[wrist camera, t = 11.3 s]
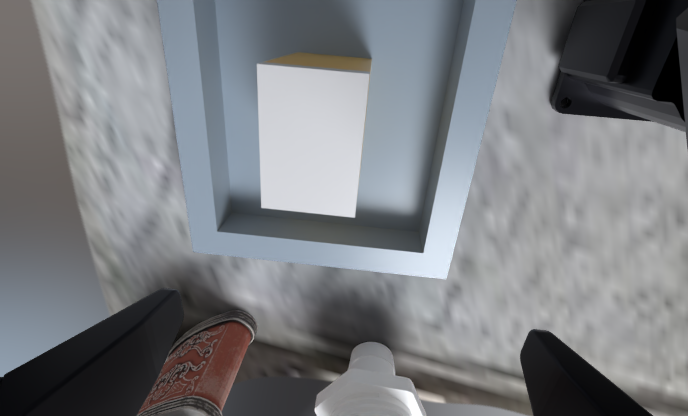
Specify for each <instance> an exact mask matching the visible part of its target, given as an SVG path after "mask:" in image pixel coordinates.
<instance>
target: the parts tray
mask: <svg viewBox="0 0 688 416" xmlns="http://www.w3.org/2000/svg"><path fill="white" fill-rule="evenodd" d="M516 1H517V0H157V4H158V11H159V18H160V25H161V32H162V39H163V46H164V53H165V60H166V67H167V74H168V81H169V88H170V95H171V102H172V109H173V116H174V123H175V130H176V137H177V144H178V151H179V158H180V165H181V172H182V179H183V186H184V193H185V200H186V207H187V213H188V220H189V227H190V234H191V241H192V248H193V252H197V253H207V254H216V255H225V256H235V257H244V258H253V259H263V260H272V261H281V262H290V263H300V264H309V265H318V266H328V267H337V268H346V269H355V270H365V271H374V272H383V273H393V274H402V275H411V276H421V277H430V278H439V279H447V275H448V271H449V267H450V263H451V259H452V255H453V251H454V247H455V243H456V239H457V235H458V231H459V228H460V224H461V220H462V216H463V212H464V208H465V204H466V200H467V196H468V192H469V188H470V184H471V180H472V176H473V172H474V168H475V164H476V160H477V156H478V152H479V148H480V144H481V140H482V136H483V132H484V128H485V124H486V120H487V116H488V112H489V109H490V105H491V101H492V97H493V93H494V89H495V85H496V81H497V77H498V73H499V69H500V65H501V61H502V57H503V53H504V49H505V45H506V41H507V37H508V33H509V29H510V25H511V21H512V17H513V13H514V9H515V5H516ZM297 52H302V53H313V54H324V55H335V56H346V57H358V58H369V59H372V63H371V73H370V82H369V92H368V101H367V111H366V121H365V130H364V140H363V150H362V159H361V168H360V177H359V186H358V195H357V203H356V212H355V218H353V217H343V216H334V215H324V214H315V213H305V212H296V211H287V210H277V209H268V208H261V182H260V150H259V119H258V87H257V64H258V63H261V62H265V61H269V60H272V59H276V58H279V57H283V56H286V55H290V54H293V53H297Z"/></svg>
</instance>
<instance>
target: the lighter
mask: <svg viewBox="0 0 688 416" xmlns="http://www.w3.org/2000/svg"><path fill="white" fill-rule="evenodd" d="M257 328H258V326H257V323H256V321H255V320H254V318H253V317H252V316H250V315H249V314H248V313H246V312H243V311H239V310H232V311H229V312H226V313H223V314H220V315H217V316H214V317H212V318H210V319H208V320H205V321H203V322H201V323H199V324H197V325H196V326H195V327H193V328H192V329H190V330H189V331H188V332H186V333H185V334H184V335H183V336H182V337H181V338H180V339H179V340H178V341H177V342H176V343H175V344H174V345H173V347H172V348H171V350H170V352H169V354H168V360H167V361H166V363H165V364H164V366H163V368H162V370H161V372H160V374H159V376H158V378H157V380H156V382H155V384H154V386H153V388H152V390H151V391H150V393H149V395H148V397H147V398H146V400H145V402H144V404H143V406H142V407H141V409H140V411H139V413H138V414H137V416H222V413H221V411H222V409H223V406H224V404H225V401H226V399H227V396H228V394H229V392H230V389H231V387H232V384H233V382H234V379H235V377H236V374H237V372H238V369H239V367H240V365H241V362H242V360H243V357H244V355H245V352H246V350H247V347H248V345H249V344H250V343H251V342H252V341H253V340H254V337H255V335H256V332H257Z"/></svg>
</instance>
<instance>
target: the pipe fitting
mask: <svg viewBox="0 0 688 416" xmlns="http://www.w3.org/2000/svg"><path fill="white" fill-rule="evenodd" d="M315 413H316V414H317V416H426V412H425V410H424V408H423V406H422V403H421V401H420V399H419V396H418V394H417V392H416V389H415V387H414V385H413V383H412V381H411V380H410V379H409V378H406V377H400V376H395V366H394V361H393V355H392V353H391V351H390V350H389V348H387V347H386V346H385V345H383V344H381V343H377V342H365V343H361V344H359V345H357V346H356V347H355V348H354V349H353V351H352V353H351V358H350V363H349V368H348V371H347V372H345V373H344V374H343V375H342V376H340V377H339V378H338V379H336V380H335V381H334V382H333V383H331V384H330V385H329V386H328V387H326V388H325V389H324V390H322V391H321V392H320V393H319V394H318V395H317V398H316V405H315Z"/></svg>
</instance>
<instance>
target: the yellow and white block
mask: <svg viewBox="0 0 688 416" xmlns="http://www.w3.org/2000/svg"><path fill="white" fill-rule="evenodd" d="M371 63H372V59H369V58H358V57H346V56H335V55H324V54H313V53H302V52H297V53H293V54H290V55H286V56H283V57H279V58H276V59H272V60H269V61H265V62H261V63H258V64H257V87H258V119H259V150H260V182H261V208H268V209H277V210H287V211H296V212H305V213H315V214H324V215H334V216H343V217H353V218H355V212H356V203H357V195H358V186H359V177H360V168H361V159H362V150H363V140H364V130H365V121H366V111H367V101H368V92H369V82H370V73H371Z"/></svg>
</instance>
